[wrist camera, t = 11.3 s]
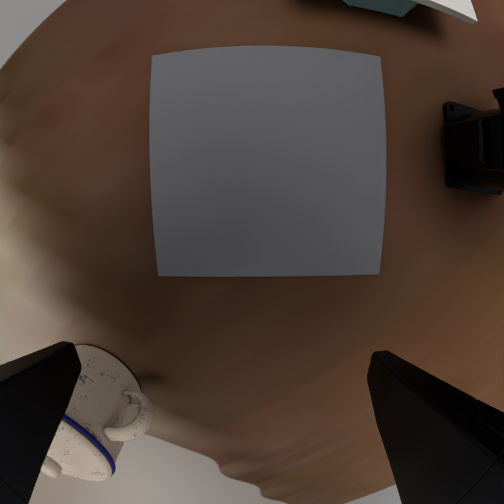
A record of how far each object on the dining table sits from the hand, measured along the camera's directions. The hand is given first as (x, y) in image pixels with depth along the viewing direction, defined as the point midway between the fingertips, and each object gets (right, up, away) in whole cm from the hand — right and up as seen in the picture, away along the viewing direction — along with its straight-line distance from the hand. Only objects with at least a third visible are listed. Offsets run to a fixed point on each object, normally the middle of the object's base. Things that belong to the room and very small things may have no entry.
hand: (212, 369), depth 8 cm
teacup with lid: (-12, -8, +15) cm, 21 cm away
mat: (+2, +9, +10) cm, 14 cm away
